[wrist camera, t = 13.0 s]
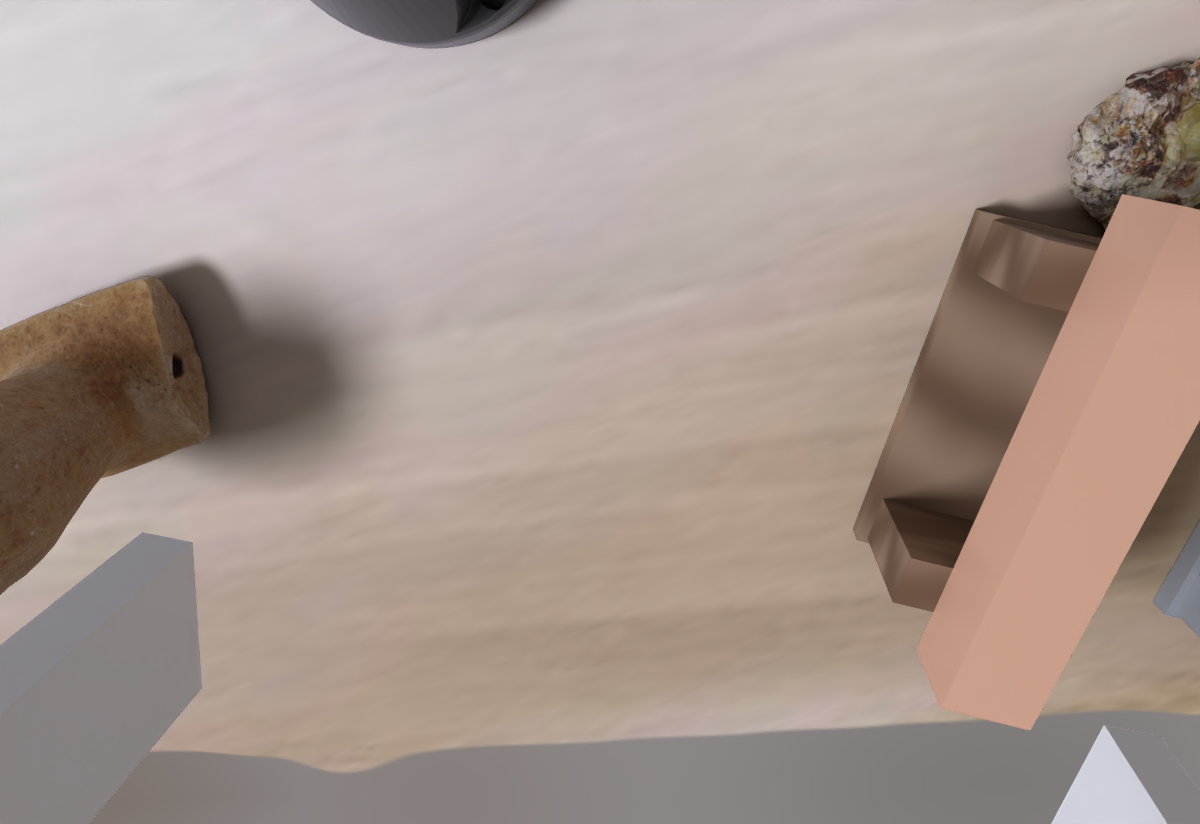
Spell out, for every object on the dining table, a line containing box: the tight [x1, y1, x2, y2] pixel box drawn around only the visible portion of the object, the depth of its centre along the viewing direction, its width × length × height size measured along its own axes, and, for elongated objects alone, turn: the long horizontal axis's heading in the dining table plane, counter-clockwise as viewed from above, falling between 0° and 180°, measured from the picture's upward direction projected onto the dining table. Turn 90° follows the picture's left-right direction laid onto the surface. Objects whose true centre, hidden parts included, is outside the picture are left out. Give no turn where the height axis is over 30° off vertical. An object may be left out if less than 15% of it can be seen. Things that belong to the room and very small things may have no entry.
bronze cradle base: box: [853, 209, 1102, 612], centre depth 37 cm, size 18×9×7 cm, turn 168°
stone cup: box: [0, 276, 211, 595], centre depth 40 cm, size 15×12×15 cm
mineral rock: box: [1067, 58, 1200, 231], centre depth 35 cm, size 11×4×8 cm
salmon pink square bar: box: [917, 194, 1200, 730], centre depth 32 cm, size 22×4×4 cm, turn 168°
